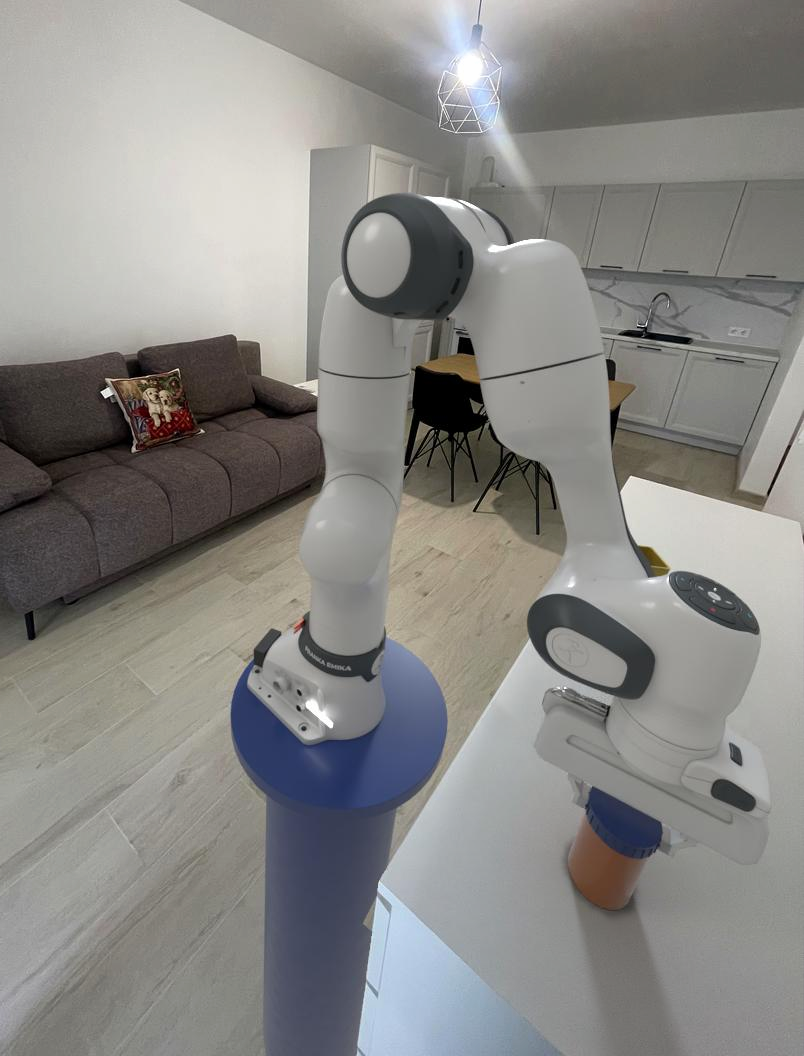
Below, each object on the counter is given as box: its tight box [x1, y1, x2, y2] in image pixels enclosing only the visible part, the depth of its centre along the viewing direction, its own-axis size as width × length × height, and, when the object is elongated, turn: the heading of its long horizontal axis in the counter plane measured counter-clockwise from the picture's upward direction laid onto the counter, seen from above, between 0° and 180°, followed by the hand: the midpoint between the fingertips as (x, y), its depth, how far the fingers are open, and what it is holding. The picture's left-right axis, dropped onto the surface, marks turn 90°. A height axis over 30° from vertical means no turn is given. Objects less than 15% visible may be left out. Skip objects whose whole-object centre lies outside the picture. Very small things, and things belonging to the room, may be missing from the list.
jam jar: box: [567, 809, 650, 911], centre depth 54 cm, size 7×7×10 cm
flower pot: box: [637, 544, 671, 577], centre depth 108 cm, size 9×9×9 cm
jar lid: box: [584, 785, 663, 859], centre depth 53 cm, size 7×7×2 cm
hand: (620, 823), depth 53 cm, fingers closed on jar lid, 7 cm apart
